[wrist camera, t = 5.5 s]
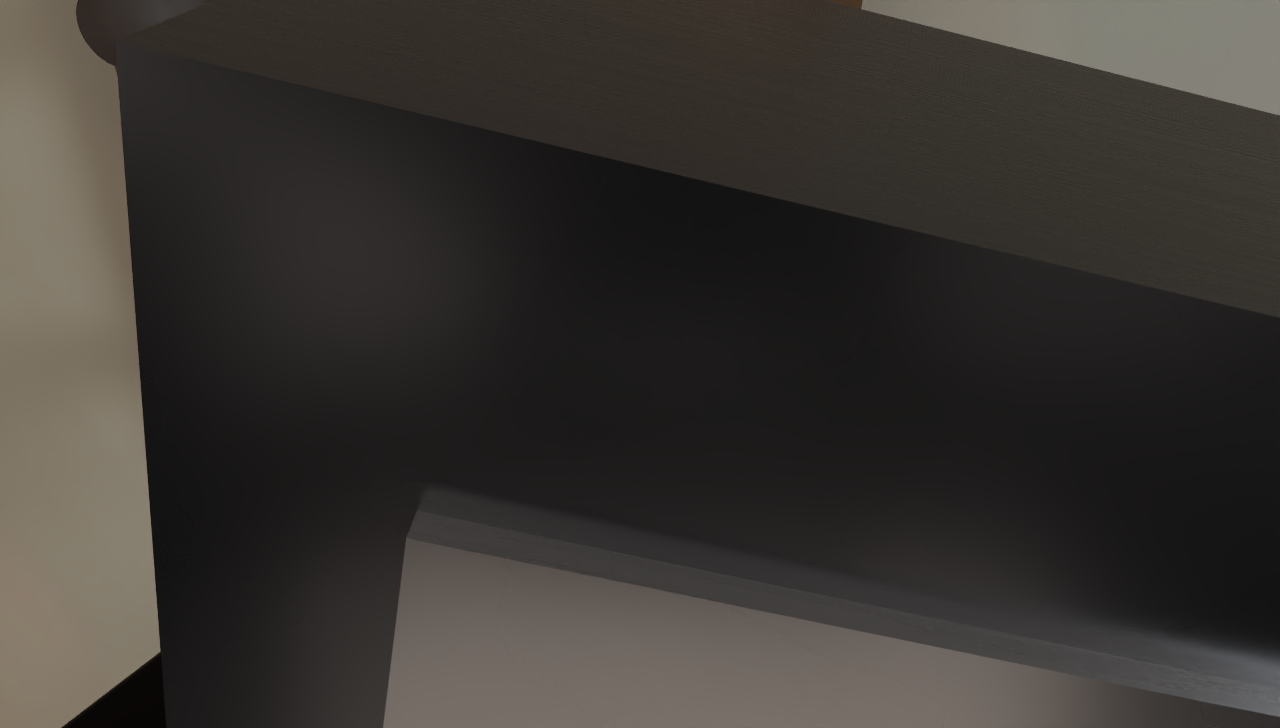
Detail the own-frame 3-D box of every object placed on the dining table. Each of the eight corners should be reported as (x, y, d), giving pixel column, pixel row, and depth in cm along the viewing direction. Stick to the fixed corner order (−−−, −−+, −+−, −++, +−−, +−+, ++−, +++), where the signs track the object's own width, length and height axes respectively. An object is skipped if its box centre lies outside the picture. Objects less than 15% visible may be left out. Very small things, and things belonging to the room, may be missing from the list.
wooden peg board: (886, -224, 14) (939, -235, 11) (780, 488, 21) (792, 616, 18) (72, -258, 15) (-121, -278, 11) (235, 446, 22) (146, 562, 19)
